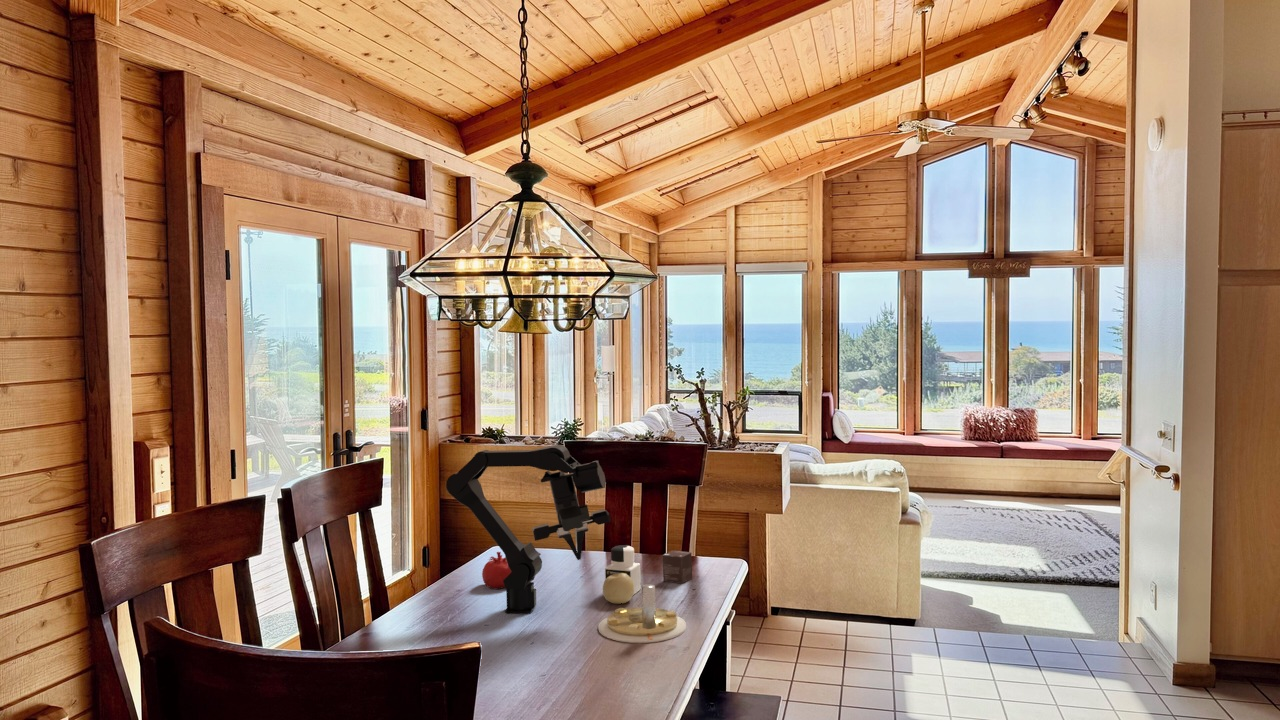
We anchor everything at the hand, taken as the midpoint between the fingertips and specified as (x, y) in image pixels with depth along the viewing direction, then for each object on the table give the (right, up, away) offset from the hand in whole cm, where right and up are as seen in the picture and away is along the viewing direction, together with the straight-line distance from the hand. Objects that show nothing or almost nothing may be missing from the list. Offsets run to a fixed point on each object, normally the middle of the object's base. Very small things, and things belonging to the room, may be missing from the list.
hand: (579, 559), depth 205 cm
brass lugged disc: (+15, -13, -12) cm, 23 cm away
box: (+25, -12, +26) cm, 39 cm away
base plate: (+15, -13, -12) cm, 23 cm away
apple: (+9, -13, +8) cm, 18 cm away
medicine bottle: (+10, -13, +16) cm, 23 cm away
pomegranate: (-23, -13, +25) cm, 37 cm away
